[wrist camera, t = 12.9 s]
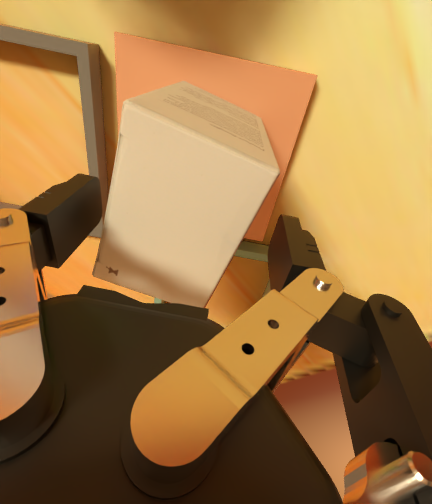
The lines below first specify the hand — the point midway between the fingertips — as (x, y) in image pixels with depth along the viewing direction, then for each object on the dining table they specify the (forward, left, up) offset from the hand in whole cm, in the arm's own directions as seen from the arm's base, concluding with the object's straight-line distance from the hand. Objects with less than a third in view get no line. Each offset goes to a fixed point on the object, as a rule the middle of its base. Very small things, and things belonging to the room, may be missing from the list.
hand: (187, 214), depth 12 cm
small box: (0, 0, -9) cm, 9 cm away
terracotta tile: (0, 0, -10) cm, 10 cm away
